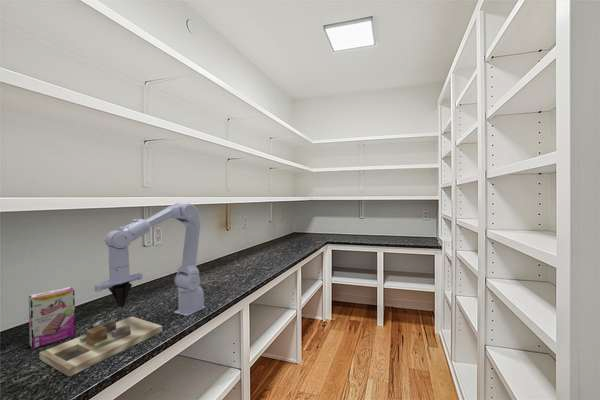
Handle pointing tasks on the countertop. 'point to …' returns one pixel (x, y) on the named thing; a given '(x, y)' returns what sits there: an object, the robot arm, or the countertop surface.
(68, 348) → the board
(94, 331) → the walnut block
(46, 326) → the candy bar box
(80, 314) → the countertop surface
